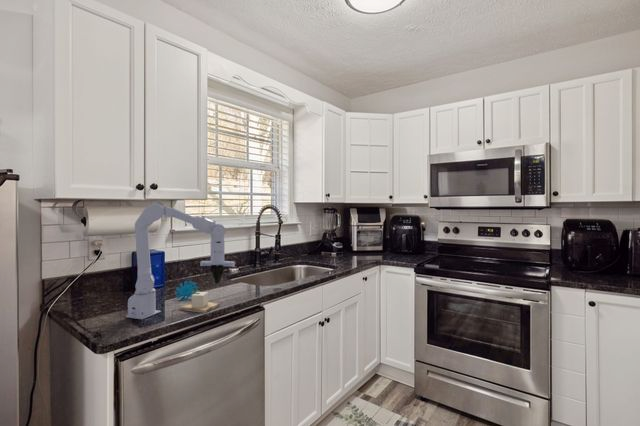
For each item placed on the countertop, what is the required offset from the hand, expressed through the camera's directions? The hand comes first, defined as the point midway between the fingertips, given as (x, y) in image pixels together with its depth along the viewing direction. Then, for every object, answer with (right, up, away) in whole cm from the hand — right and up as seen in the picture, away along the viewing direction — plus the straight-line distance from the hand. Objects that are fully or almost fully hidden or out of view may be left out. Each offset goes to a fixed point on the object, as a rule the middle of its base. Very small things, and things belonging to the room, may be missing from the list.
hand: (217, 282), depth 141 cm
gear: (-18, -10, +11) cm, 23 cm away
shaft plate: (-6, -10, -3) cm, 12 cm away
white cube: (-6, -9, -3) cm, 11 cm away
